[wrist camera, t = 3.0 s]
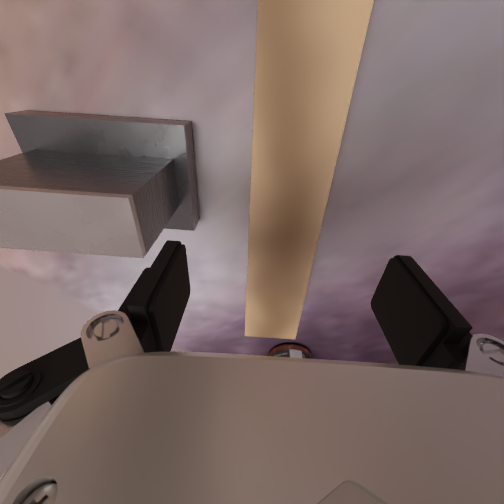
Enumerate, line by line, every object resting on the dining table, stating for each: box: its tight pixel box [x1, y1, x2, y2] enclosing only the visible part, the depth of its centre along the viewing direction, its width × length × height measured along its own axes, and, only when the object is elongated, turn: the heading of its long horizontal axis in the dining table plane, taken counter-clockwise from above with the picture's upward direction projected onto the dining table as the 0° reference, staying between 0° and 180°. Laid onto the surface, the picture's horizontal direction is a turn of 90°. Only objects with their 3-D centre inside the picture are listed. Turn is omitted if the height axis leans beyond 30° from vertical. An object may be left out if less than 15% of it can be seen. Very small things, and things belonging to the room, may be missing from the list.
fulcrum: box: [0, 110, 199, 258], centre depth 17 cm, size 12×8×9 cm, turn 87°
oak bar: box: [245, 0, 374, 339], centre depth 18 cm, size 4×24×6 cm, turn 178°
